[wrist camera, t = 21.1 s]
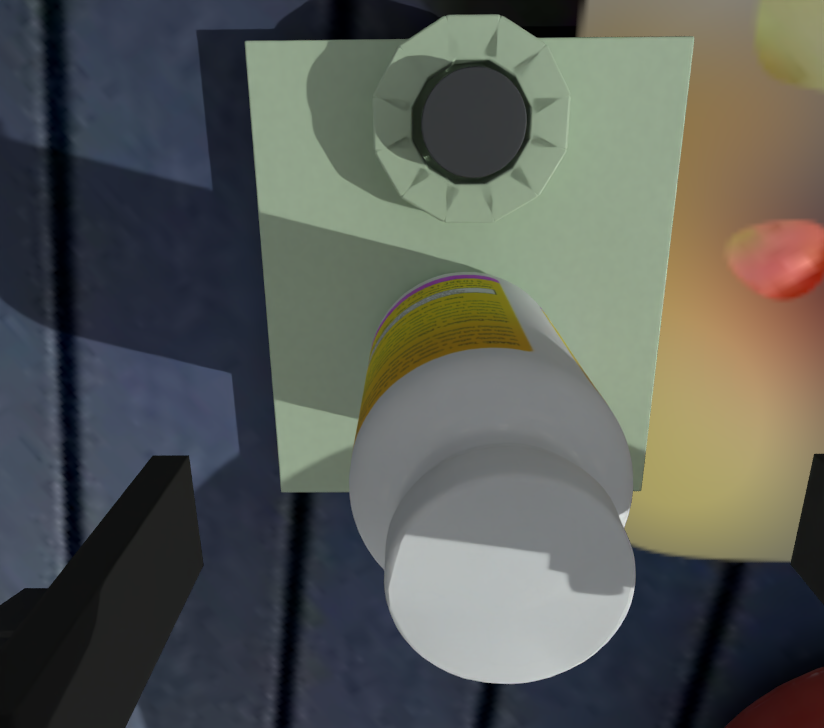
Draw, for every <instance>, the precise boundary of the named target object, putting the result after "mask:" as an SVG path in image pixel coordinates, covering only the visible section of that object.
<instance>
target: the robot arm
mask: <svg viewBox="0 0 824 728" xmlns="http://www.w3.org/2000/svg"><path fill="white" fill-rule="evenodd" d="M790 565H791V566H792V567H793V568H794V570H795V571H796V572H797V573H798V574H799V576H800V577H801V578H802V579H803V580H804V582H805V583H806V584H807V585H808V586H809V588H810V589H811V590H812V591H813V592H814V594H815V595H816V596H817V597H818V599H819V600H820V601H821V602H822V603H823V605H824V454H814V457H813V462H812V466H811V471H810V476H809V481H808V485H807V490H806V495H805V499H804V504H803V508H802V513H801V517H800V522H799V527H798V532H797V536H796V541H795V545H794V550H793V555H792V559H791V564H790ZM202 567H203V557H202V550H201V542H200V535H199V527H198V520H197V513H196V505H195V498H194V490H193V483H192V475H191V468H190V460H189V456H152V457H151V459H150V460H149V461H148V462H147V464H146V465H145V466H144V467H143V469H142V470H141V471H140V473H139V474H138V475H137V476H136V478H135V479H134V480H133V481H132V483H131V484H130V485H129V486H128V488H127V489H126V490H125V492H124V493H123V494H122V495H121V497H120V498H119V499H118V500H117V502H116V503H115V504H114V506H113V507H112V508H111V509H110V511H109V512H108V513H107V514H106V516H105V517H104V518H103V519H102V521H101V522H100V523H99V525H98V526H97V527H96V528H95V530H94V531H93V532H92V533H91V535H90V536H89V537H88V539H87V540H86V541H85V542H84V544H83V545H82V546H81V547H80V549H79V550H78V551H77V552H76V554H75V555H74V556H73V558H72V559H71V560H70V561H69V563H68V564H67V565H66V566H65V568H64V569H63V570H62V572H61V573H60V574H59V575H58V577H57V578H56V579H55V580H54V582H53V583H52V584H51V586H50V587H49V588H25V589H23V590H22V591H20V592H19V593H17V594H16V595H14V596H13V597H11V598H10V599H9V600H7V601H6V602H4V603H3V604H1V605H0V728H125V727H126V725H127V723H128V721H129V719H130V717H131V715H132V713H133V710H134V708H135V706H136V704H137V702H138V700H139V698H140V696H141V694H142V692H143V690H144V688H145V686H146V683H147V681H148V679H149V677H150V675H151V673H152V671H153V669H154V667H155V665H156V663H157V661H158V659H159V656H160V654H161V652H162V650H163V648H164V646H165V644H166V642H167V640H168V638H169V636H170V634H171V632H172V629H173V627H174V625H175V623H176V621H177V619H178V617H179V615H180V613H181V611H182V609H183V607H184V605H185V602H186V600H187V598H188V596H189V594H190V592H191V590H192V588H193V586H194V584H195V582H196V580H197V578H198V576H199V573H200V571H201V569H202Z"/></svg>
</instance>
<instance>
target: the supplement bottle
mask: <svg viewBox="0 0 824 728" xmlns="http://www.w3.org/2000/svg"><path fill="white" fill-rule="evenodd" d="M349 492H350V502H351V509H352V513H353V516H354V520H355V523H356V526H357V529H358V531H359V533H360V536H361V538H362V540H363V542H364V543H365V545H366V547H367V549H368V550H369V552H370V553H371V555H372V556H373V557H374V559H375V560H376V561H377V563H378V564H379V565H380V566H381V567H382V568H383V569H384V589H385V596H386V601H387V604H388V607H389V611H390V614H391V616H392V618H393V621H394V623H395V625H396V627H397V629H398V630H399V632H400V633H401V635H402V636H403V637H404V639H405V640H406V641H407V642H408V644H409V645H410V646H411V647H412V648H413V649H414V650H415V651H416V652H417V653H419V654H420V655H421V656H422V657H423V658H425V659H426V660H428V661H429V662H431V663H432V664H434V665H435V666H437V667H439V668H441V669H443V670H444V671H446V672H448V673H451V674H454V675H456V676H459V677H462V678H465V679H470V680H475V681H480V682H486V683H499V684H518V683H528V682H533V681H537V680H541V679H545V678H549V677H552V676H555V675H557V674H560V673H562V672H565V671H567V670H570V669H571V668H573V667H575V666H577V665H579V664H581V663H583V662H584V661H586V660H587V659H588V658H590V657H591V656H593V655H594V654H595V653H596V652H597V651H599V650H600V649H601V648H602V647H603V646H604V645H605V644H606V643H607V642H608V641H609V640H610V639H611V637H612V636H613V635H614V634H615V632H616V631H617V630H618V628H619V627H620V626H621V624H622V622H623V620H624V619H625V617H626V615H627V613H628V610H629V608H630V605H631V602H632V598H633V594H634V588H635V581H636V570H635V559H634V554H633V550H632V547H631V543H630V540H629V538H628V536H627V534H626V531H625V530H624V527H625V524H626V521H627V518H628V514H629V510H630V506H631V502H632V494H633V468H632V461H631V456H630V451H629V448H628V444H627V441H626V438H625V435H624V433H623V431H622V428H621V426H620V424H619V422H618V420H617V419H616V417H615V415H614V414H613V412H612V411H611V409H610V408H609V406H608V404H607V403H606V401H605V400H604V399H603V397H602V396H601V394H600V393H599V392H598V390H597V389H596V387H595V386H594V384H593V383H592V382H591V380H590V379H589V377H588V376H587V375H586V373H585V372H584V370H583V369H582V367H581V366H580V364H579V363H578V361H577V360H576V358H575V357H574V355H573V354H572V352H571V351H570V349H569V348H568V346H567V345H566V343H565V342H564V340H563V339H562V337H561V336H560V334H559V333H558V331H557V330H556V328H555V327H554V325H553V324H552V322H551V321H550V319H549V318H548V317H547V315H546V314H545V312H544V311H543V310H542V308H541V307H540V306H539V305H538V304H537V303H536V302H535V301H534V300H533V299H532V298H531V297H530V296H529V295H528V294H527V293H526V292H525V291H523V290H522V289H520V288H519V287H518V286H516V285H514V284H512V283H510V282H508V281H506V280H504V279H501V278H498V277H496V276H493V275H488V274H484V273H477V272H455V273H448V274H444V275H440V276H436V277H434V278H431V279H428V280H426V281H424V282H422V283H420V284H418V285H417V286H415V287H413V288H412V289H410V290H409V291H407V292H406V293H405V294H403V295H402V296H401V297H400V298H399V299H398V300H397V301H396V302H395V303H394V304H393V305H392V306H391V308H390V309H389V310H388V312H387V313H386V315H385V316H384V318H383V319H382V321H381V323H380V325H379V327H378V329H377V331H376V334H375V336H374V340H373V343H372V347H371V352H370V357H369V362H368V368H367V374H366V380H365V385H364V391H363V397H362V402H361V408H360V414H359V419H358V425H357V430H356V435H355V441H354V446H353V451H352V457H351V466H350V474H349Z"/></svg>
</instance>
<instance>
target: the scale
mask: <svg viewBox="0 0 824 728" xmlns="http://www.w3.org/2000/svg"><path fill="white" fill-rule="evenodd" d="M693 46H694V37H693V36H675V37H568V38H536V37H535V36H533V35H532V34H530V33H529V32H527V31H526V30H524V29H522V28H521V27H519V26H518V25H516V24H515V23H513V22H512V21H510V20H509V19H507V18H505V17H504V16H500V15H498V14H480V15H447V16H443V17H441V18H440V19H438V20H437V21H435V22H434V23H432V24H431V25H429V26H428V27H426V28H424V29H423V30H421V31H420V32H418V33H417V34H415V35H414V36H412V37H411V38H409V39H365V40H263V41H245V54H246V66H247V79H248V91H249V103H250V115H251V128H252V140H253V152H254V165H255V177H256V189H257V201H258V214H259V226H260V238H261V250H262V263H263V275H264V287H265V299H266V312H267V324H268V336H269V349H270V361H271V373H272V385H273V398H274V410H275V422H276V434H277V447H278V459H279V471H280V484H281V492H349V474H350V466H351V457H352V451H353V446H354V441H355V435H356V430H357V425H358V419H359V414H360V408H361V402H362V397H363V391H364V385H365V380H366V374H367V368H368V362H369V357H370V352H371V347H372V343H373V340H374V336H375V334H376V331H377V329H378V327H379V325H380V323H381V321H382V319H383V318H384V316H385V315H386V313H387V312H388V310H389V309H390V308H391V306H392V305H393V304H394V303H395V302H396V301H397V300H398V299H399V298H400V297H401V296H402V295H403V294H405V293H406V292H407V291H409V290H410V289H412V288H413V287H415V286H417V285H418V284H420V283H422V282H424V281H426V280H428V279H431V278H434V277H436V276H440V275H444V274H448V273H455V272H477V273H484V274H488V275H493V276H496V277H498V278H501V279H504V280H506V281H508V282H510V283H512V284H514V285H516V286H518V287H519V288H520V289H522V290H523V291H525V292H526V293H527V294H528V295H529V296H530V297H531V298H532V299H533V300H534V301H535V302H536V303H537V304H538V305H539V306H540V307H541V308H542V310H543V311H544V312H545V314H546V315H547V317H548V318H549V319H550V321H551V322H552V324H553V325H554V327H555V328H556V330H557V331H558V333H559V334H560V336H561V337H562V339H563V340H564V342H565V343H566V345H567V346H568V348H569V349H570V351H571V352H572V354H573V355H574V357H575V358H576V360H577V361H578V363H579V364H580V366H581V367H582V369H583V370H584V372H585V373H586V375H587V376H588V377H589V379H590V380H591V382H592V383H593V384H594V386H595V387H596V389H597V390H598V392H599V393H600V394H601V396H602V397H603V399H604V400H605V401H606V403H607V404H608V406H609V408H610V409H611V411H612V412H613V414H614V415H615V417H616V419H617V420H618V422H619V424H620V426H621V428H622V431H623V433H624V435H625V438H626V441H627V444H628V448H629V451H630V456H631V461H632V468H633V491H641V488H642V480H643V471H644V463H645V454H646V446H647V445H646V444H647V437H648V429H649V420H650V412H651V403H652V394H653V385H654V377H655V369H656V361H657V352H658V344H659V335H660V327H661V318H662V310H663V301H664V293H665V284H666V275H667V267H668V257H669V249H670V241H671V233H672V224H673V215H674V207H675V199H676V190H677V182H678V173H679V165H680V155H681V147H682V139H683V131H684V122H685V114H686V105H687V97H688V87H689V80H690V71H691V63H692V62H691V61H692V54H693ZM471 66H481V67H487V68H491V69H493V70H496V71H498V72H500V73H502V74H503V75H504V76H506V77H507V78H508V79H509V80H510V81H511V82H512V83H513V84H514V85H515V86H516V88H517V89H518V91H519V92H520V94H521V96H522V99H523V101H524V104H525V108H526V114H527V126H526V133H525V137H524V140H523V143H522V145H521V147H520V149H519V151H518V152H517V154H516V155H515V157H514V158H513V159H512V160H511V161H510V162H509V163H508V164H507V165H506V166H505V167H503V168H502V169H501V170H499V171H497V172H495V173H493V174H491V175H488V176H484V177H480V178H466V177H461V176H457V175H454V174H452V173H450V172H448V171H446V170H445V169H444V168H442V167H441V166H440V165H439V164H438V163H437V162H436V161H435V160H434V159H433V158H432V156H431V155H430V153H429V152H428V150H427V147H426V145H425V143H424V140H423V136H422V131H421V117H422V112H423V108H424V105H425V102H426V100H427V98H428V95H429V94H430V92H431V91H432V89H433V88H434V87H435V85H436V84H437V83H438V82H439V81H440V80H441V79H442V78H444V77H445V76H446V75H448V74H449V73H451V72H453V71H455V70H458V69H461V68H465V67H471Z"/></svg>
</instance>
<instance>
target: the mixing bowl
mask: <svg viewBox="0 0 824 728" xmlns="http://www.w3.org/2000/svg"><path fill="white" fill-rule="evenodd" d="M724 728H824V667H821V668H818V669H815V670H813V671H811V672H808V673H806V674H804V675H801V676H799V677H797V678H794V679H792V680H790V681H788V682H786V683H784V684H782V685H780V686H778V687H776V688H775V689H773V690H772V691H770V692H768V693H767V694H765V695H764V696H762V697H761V698H759V699H757V700H756V701H755V702H753V703H752V704H751V705H749V706H748V707H746V708H745V709H744V710H743V711H741V712H740V713H739V714H738V715H737V716H736V717H735V718H734V719H733V720H732V721H731V722H730V723H728V724H727V725H726V726H725V727H724Z"/></svg>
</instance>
